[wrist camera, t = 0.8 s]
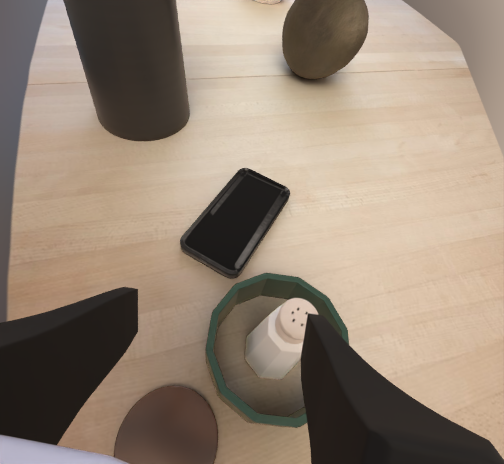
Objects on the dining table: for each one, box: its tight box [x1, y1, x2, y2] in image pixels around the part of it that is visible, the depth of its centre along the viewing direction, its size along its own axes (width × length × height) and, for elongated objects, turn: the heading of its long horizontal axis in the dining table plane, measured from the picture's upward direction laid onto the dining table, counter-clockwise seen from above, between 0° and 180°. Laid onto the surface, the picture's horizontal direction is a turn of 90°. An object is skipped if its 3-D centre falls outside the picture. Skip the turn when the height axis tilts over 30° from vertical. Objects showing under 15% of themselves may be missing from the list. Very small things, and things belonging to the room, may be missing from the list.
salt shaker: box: [245, 298, 318, 380], centre depth 24 cm, size 5×5×11 cm
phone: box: [180, 168, 290, 278], centre depth 36 cm, size 8×1×15 cm
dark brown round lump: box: [282, 0, 369, 79], centre depth 52 cm, size 14×14×15 cm
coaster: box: [114, 386, 218, 464], centre depth 23 cm, size 8×8×1 cm
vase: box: [63, 0, 189, 141], centre depth 34 cm, size 14×14×29 cm
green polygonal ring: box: [206, 273, 349, 428], centre depth 27 cm, size 12×12×4 cm
